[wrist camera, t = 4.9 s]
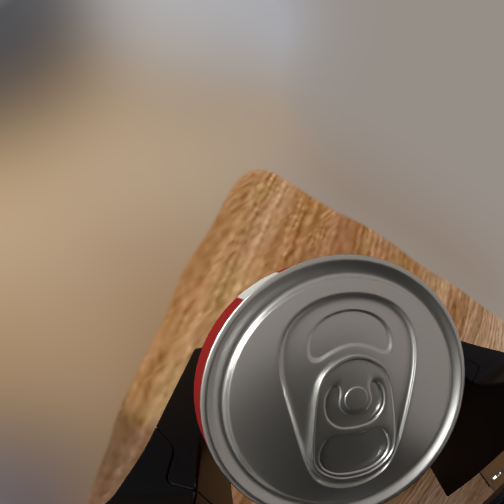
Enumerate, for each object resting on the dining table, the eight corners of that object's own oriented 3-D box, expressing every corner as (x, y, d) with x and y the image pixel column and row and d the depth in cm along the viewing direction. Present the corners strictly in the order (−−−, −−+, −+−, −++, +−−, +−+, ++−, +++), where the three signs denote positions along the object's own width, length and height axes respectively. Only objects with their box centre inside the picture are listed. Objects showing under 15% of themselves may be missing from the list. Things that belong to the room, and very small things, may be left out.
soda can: (321, 322, 16) (458, 233, 4) (324, 410, 14) (468, 484, 3) (229, 325, 16) (179, 234, 4) (231, 416, 14) (187, 540, 2)
